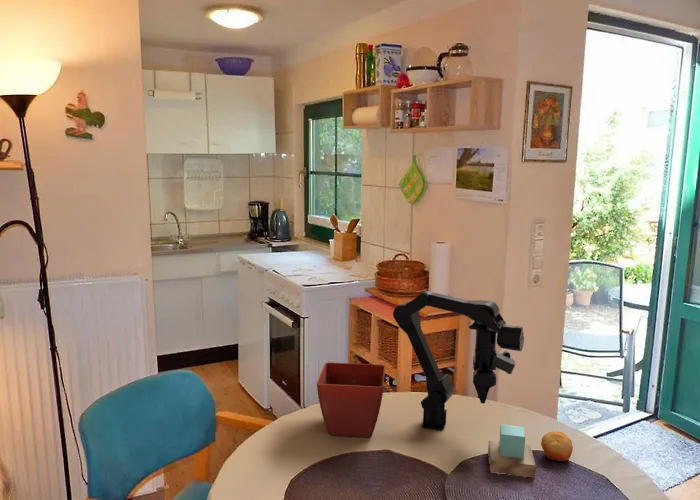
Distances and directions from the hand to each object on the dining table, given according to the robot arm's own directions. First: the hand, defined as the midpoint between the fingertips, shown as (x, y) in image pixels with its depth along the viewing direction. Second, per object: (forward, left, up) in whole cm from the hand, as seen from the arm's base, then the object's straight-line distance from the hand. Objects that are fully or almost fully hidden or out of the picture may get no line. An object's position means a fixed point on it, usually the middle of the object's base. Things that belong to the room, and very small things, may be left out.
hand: (482, 397), depth 163 cm
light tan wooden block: (+8, -15, -12) cm, 21 cm away
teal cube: (+8, -15, -8) cm, 19 cm away
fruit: (+20, -8, -12) cm, 25 cm away
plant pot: (-38, -4, -12) cm, 40 cm away
